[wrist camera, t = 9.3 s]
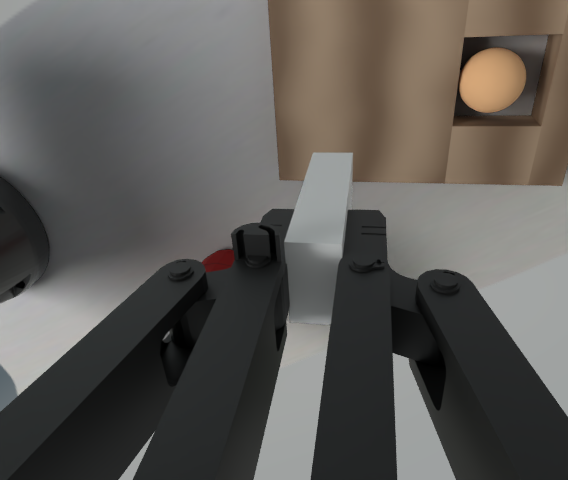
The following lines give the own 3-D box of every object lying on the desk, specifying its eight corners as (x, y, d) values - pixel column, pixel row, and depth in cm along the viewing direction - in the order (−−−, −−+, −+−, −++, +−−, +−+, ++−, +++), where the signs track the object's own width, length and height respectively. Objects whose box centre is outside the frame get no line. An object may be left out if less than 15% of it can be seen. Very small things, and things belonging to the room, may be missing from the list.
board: (285, 167, 38) (279, 180, 36) (273, -31, 31) (265, -30, 29) (550, 171, 34) (562, 185, 32) (608, -52, 27) (627, -52, 25)
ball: (497, 101, 33) (444, 106, 32) (508, 40, 31) (451, 45, 30) (532, 116, 30) (473, 123, 29) (547, 49, 27) (484, 55, 27)
